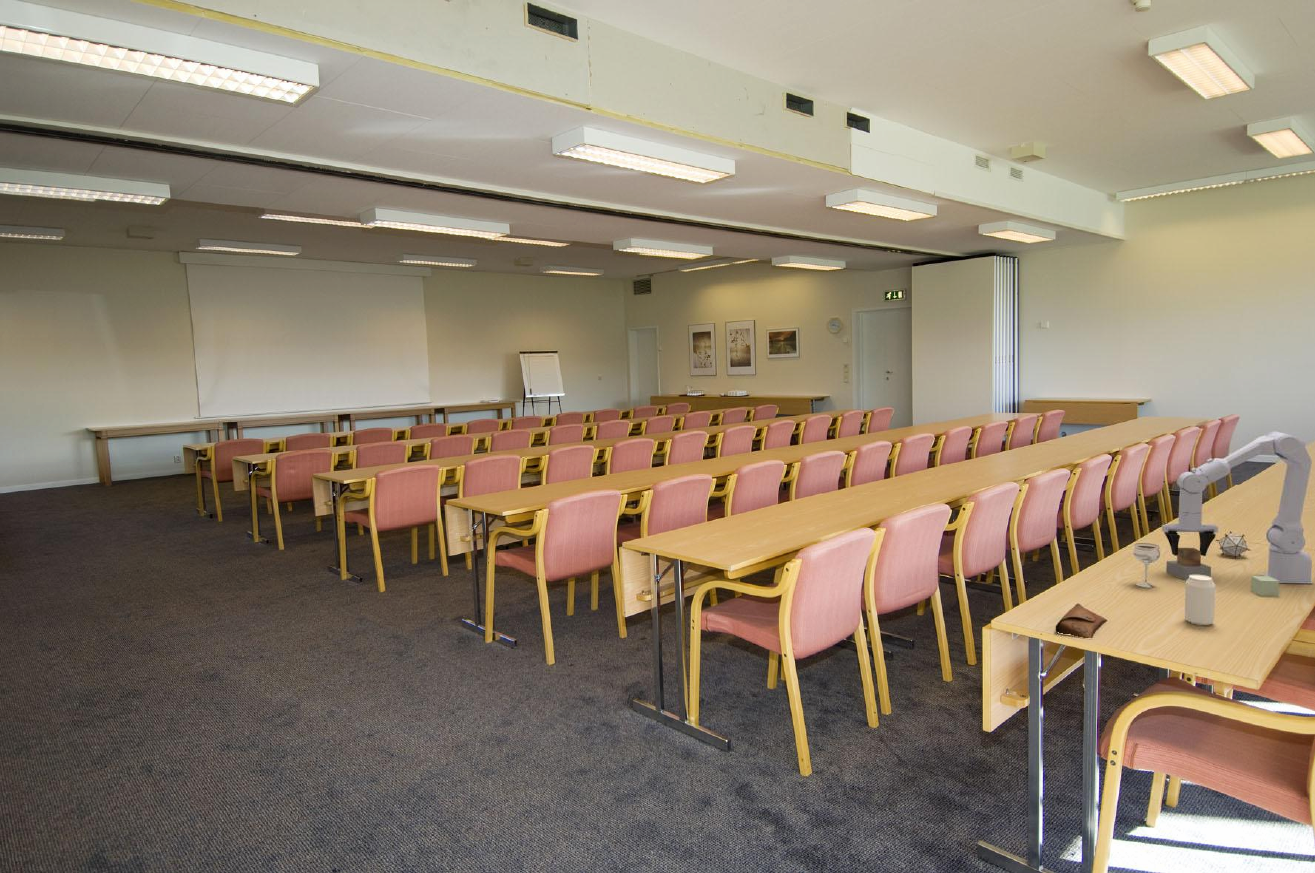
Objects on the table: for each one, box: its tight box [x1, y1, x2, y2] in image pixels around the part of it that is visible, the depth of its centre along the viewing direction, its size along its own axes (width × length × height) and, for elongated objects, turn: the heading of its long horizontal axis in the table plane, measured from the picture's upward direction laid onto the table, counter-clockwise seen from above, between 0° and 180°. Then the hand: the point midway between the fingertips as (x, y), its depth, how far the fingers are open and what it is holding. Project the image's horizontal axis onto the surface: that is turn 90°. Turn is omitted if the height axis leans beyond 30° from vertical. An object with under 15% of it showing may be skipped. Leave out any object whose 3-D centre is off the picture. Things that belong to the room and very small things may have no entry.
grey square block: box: [1165, 560, 1212, 581], centre depth 233 cm, size 8×8×4 cm
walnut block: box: [1176, 547, 1202, 566], centre depth 233 cm, size 4×4×4 cm
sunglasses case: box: [1055, 603, 1108, 639], centre depth 195 cm, size 18×7×7 cm, turn 139°
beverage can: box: [1184, 575, 1216, 626], centre depth 194 cm, size 6×6×12 cm
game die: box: [1215, 531, 1252, 560], centre depth 250 cm, size 9×8×10 cm
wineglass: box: [1132, 542, 1161, 589], centre depth 225 cm, size 7×7×12 cm
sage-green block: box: [1250, 575, 1280, 597], centre depth 214 cm, size 4×4×4 cm
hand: (1188, 555), depth 232 cm, fingers open, 7 cm apart
